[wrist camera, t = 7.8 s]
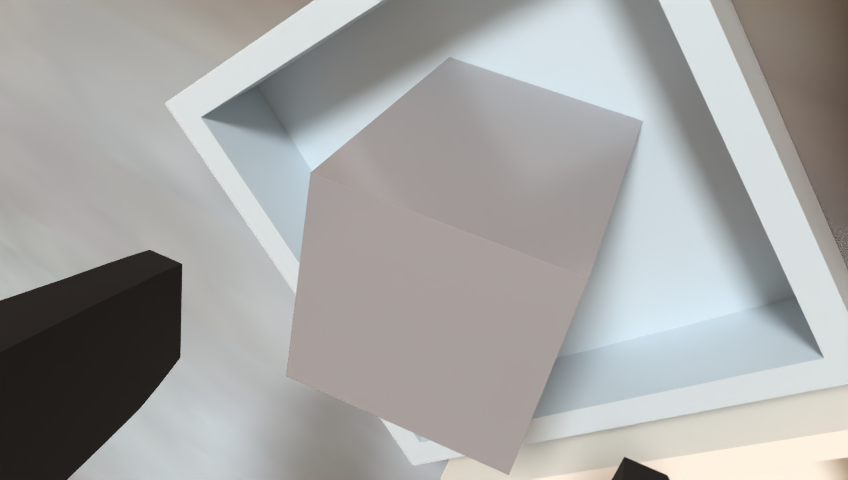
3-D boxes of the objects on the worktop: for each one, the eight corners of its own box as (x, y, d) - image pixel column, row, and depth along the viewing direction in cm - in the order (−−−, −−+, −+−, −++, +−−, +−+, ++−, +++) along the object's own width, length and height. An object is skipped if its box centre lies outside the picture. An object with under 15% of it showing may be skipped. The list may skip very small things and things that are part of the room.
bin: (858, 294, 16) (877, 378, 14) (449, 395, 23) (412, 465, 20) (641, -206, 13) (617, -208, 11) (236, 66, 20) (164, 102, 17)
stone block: (642, 120, 16) (589, 277, 10) (578, 283, 18) (509, 475, 13) (449, 56, 17) (310, 172, 11) (413, 220, 19) (286, 376, 14)
